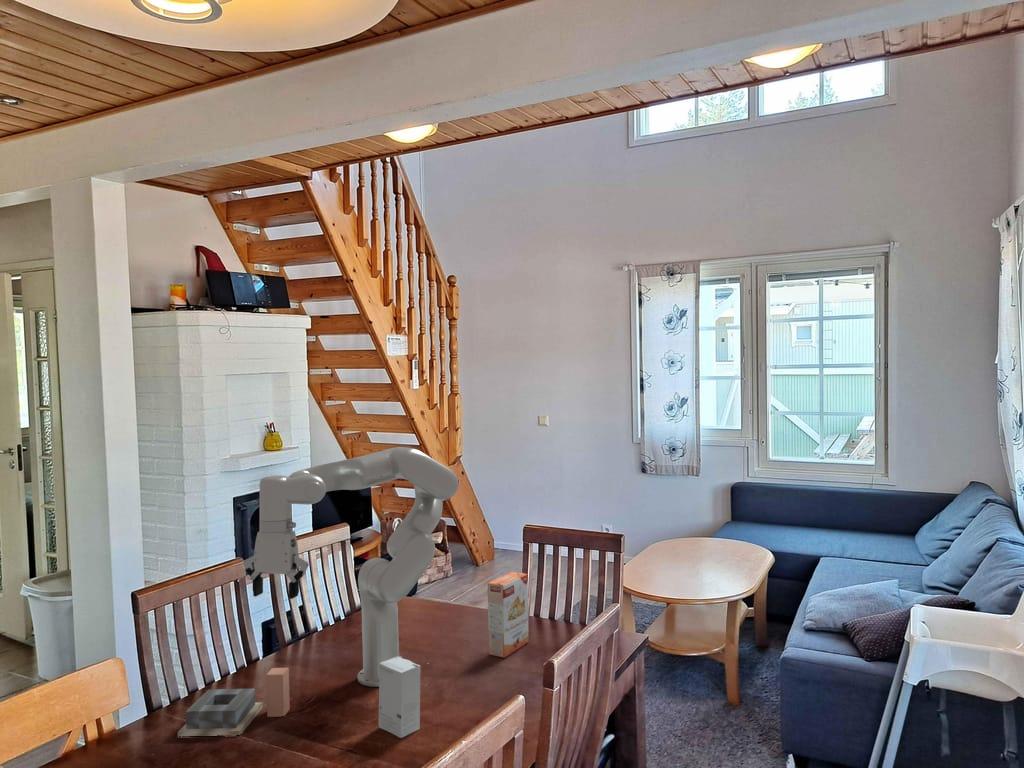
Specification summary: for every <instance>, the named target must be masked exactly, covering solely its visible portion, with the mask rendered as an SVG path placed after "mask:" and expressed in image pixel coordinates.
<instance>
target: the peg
mask: <svg viewBox="0 0 1024 768" xmlns="http://www.w3.org/2000/svg"><path fill="white" fill-rule="evenodd" d="M266 673H267V674H266V675H265V677H266V679H265V680H266V681H265V682H266V709H267V710H266V712H267V713H266V716H267V718H273V717H274V718H277V717H282V716H284V717H285V716H286V715H287V713H288V712H289V711H290V708H291V707H290V706H291V705H290V675H289V673H290V669H289V667H272V668H271V669H270V670H269V671H268V672H266Z"/></svg>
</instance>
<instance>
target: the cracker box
mask: <svg viewBox="0 0 1024 768" xmlns="http://www.w3.org/2000/svg"><path fill="white" fill-rule="evenodd" d="M528 580H529V574H527V573H523V572H515V571H511V572H509V573H507V574H505V575H503V576H501V577H498V578H496V579H493V580H491V581H489V582H487V623H488V624H487V625H488V626H487V629H488V630H487V631H488V636H487V637H488V655H489V656H494V657H498V658H503V659H505V658H506V657H508V656H510V655H511V654H513V653H514V652H516V651H517V650H519V649H522V647H524V646H526V645H527V644H529V643H528V642H529V641H530V638H529V636H530V635H529V581H528ZM525 644H526V645H525Z"/></svg>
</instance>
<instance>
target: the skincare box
mask: <svg viewBox="0 0 1024 768" xmlns="http://www.w3.org/2000/svg"><path fill="white" fill-rule="evenodd" d="M411 661H412V660H409V659H405V658H404V657H402V658H400V657H395V658H392V659H389V660H387V661H384V662H381V663H379V664H380V671H379V687H378V728H379V729H381V730H384V731H386V732H388V733H391V734H392V735H394V736H396V737H397V738H399V739H403V738H404V737H406V736H409V735H411V734H412V733H414V732H417V731H418V730H420V726H421V725H420V721H421V720H420V719H421V665H420V664H417V663H414V662H413V661H412V662H411Z"/></svg>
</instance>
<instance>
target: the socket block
mask: <svg viewBox="0 0 1024 768" xmlns="http://www.w3.org/2000/svg"><path fill="white" fill-rule="evenodd" d="M263 706H264V705H263V702H261V701H259V702H256V688H225V689H224V688H221V689H220V688H219V689H217V688H216V689H215V688H213V689H212V688H211V689H210V688H209V689H207V690H206V691H205V693H203V694H202V695H201V696H200V697H199V698H198V699H197V700H196V701H195V702H194V703H193V704H192V705H191V706H190V707H188V708H187V710H186V711H185V724H184V725H183V726H182V727H181V728H180V729H179V730H178V731H177V738H183V737H182V736H217V735H240V734H241V735H242V734H243V733H244V731H245V730H246V729H247V728H248V726H250V724H251V722H252V721H253V720H254V719H255V718H256V716H258V714H259V713H260V712H261V710H262V709H263V708H264V707H263ZM241 735H240V736H241ZM179 736H181V737H179Z"/></svg>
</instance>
